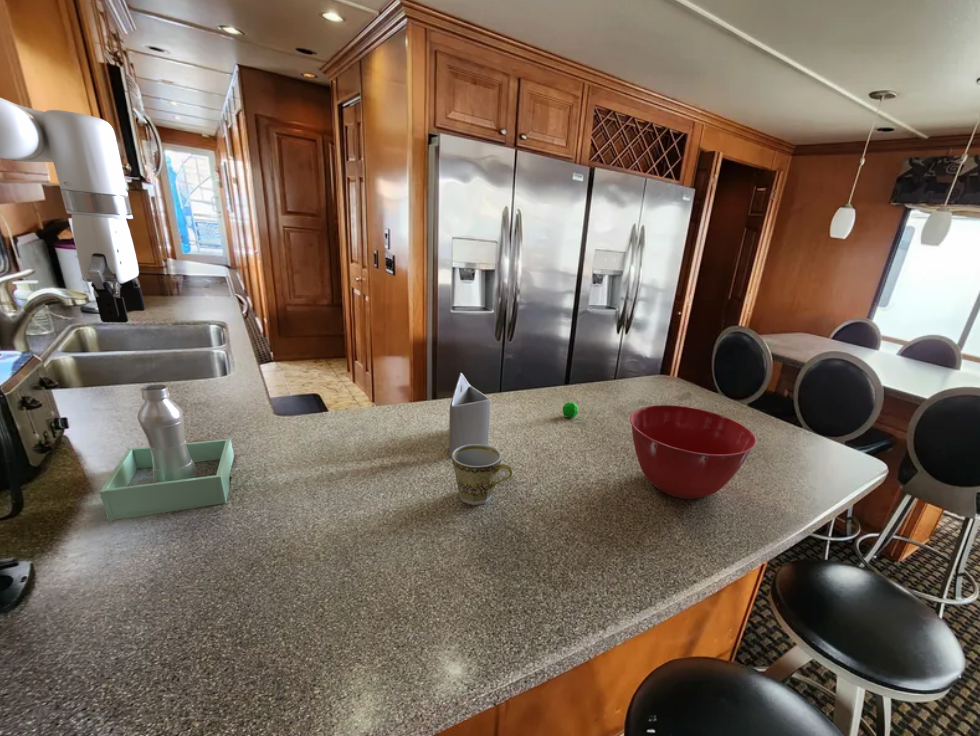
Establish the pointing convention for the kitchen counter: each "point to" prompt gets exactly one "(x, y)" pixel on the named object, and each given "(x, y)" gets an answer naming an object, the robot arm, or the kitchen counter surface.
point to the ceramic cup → (477, 472)
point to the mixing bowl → (689, 448)
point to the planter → (468, 416)
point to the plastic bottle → (165, 435)
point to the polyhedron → (570, 409)
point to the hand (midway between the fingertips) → (125, 316)
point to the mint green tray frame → (167, 483)
